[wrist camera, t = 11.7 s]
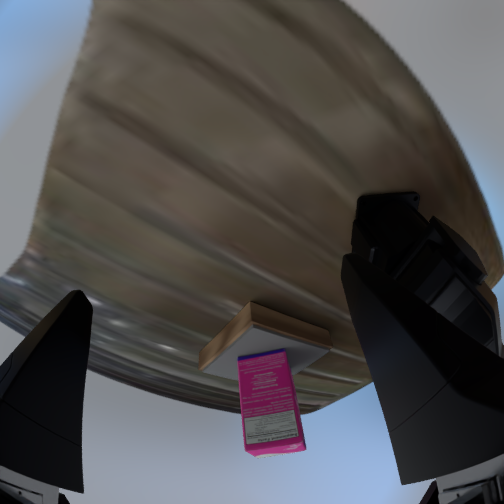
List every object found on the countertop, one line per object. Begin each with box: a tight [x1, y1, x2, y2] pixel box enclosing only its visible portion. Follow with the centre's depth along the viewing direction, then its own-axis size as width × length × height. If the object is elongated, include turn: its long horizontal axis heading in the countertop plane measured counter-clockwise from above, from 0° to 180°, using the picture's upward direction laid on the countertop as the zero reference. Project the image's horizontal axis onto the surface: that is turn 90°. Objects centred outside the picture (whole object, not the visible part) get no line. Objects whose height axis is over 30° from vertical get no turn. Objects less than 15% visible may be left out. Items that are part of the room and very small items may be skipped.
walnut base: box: [198, 302, 333, 381], centre depth 32 cm, size 12×12×3 cm
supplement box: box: [237, 348, 306, 458], centre depth 26 cm, size 6×6×12 cm
